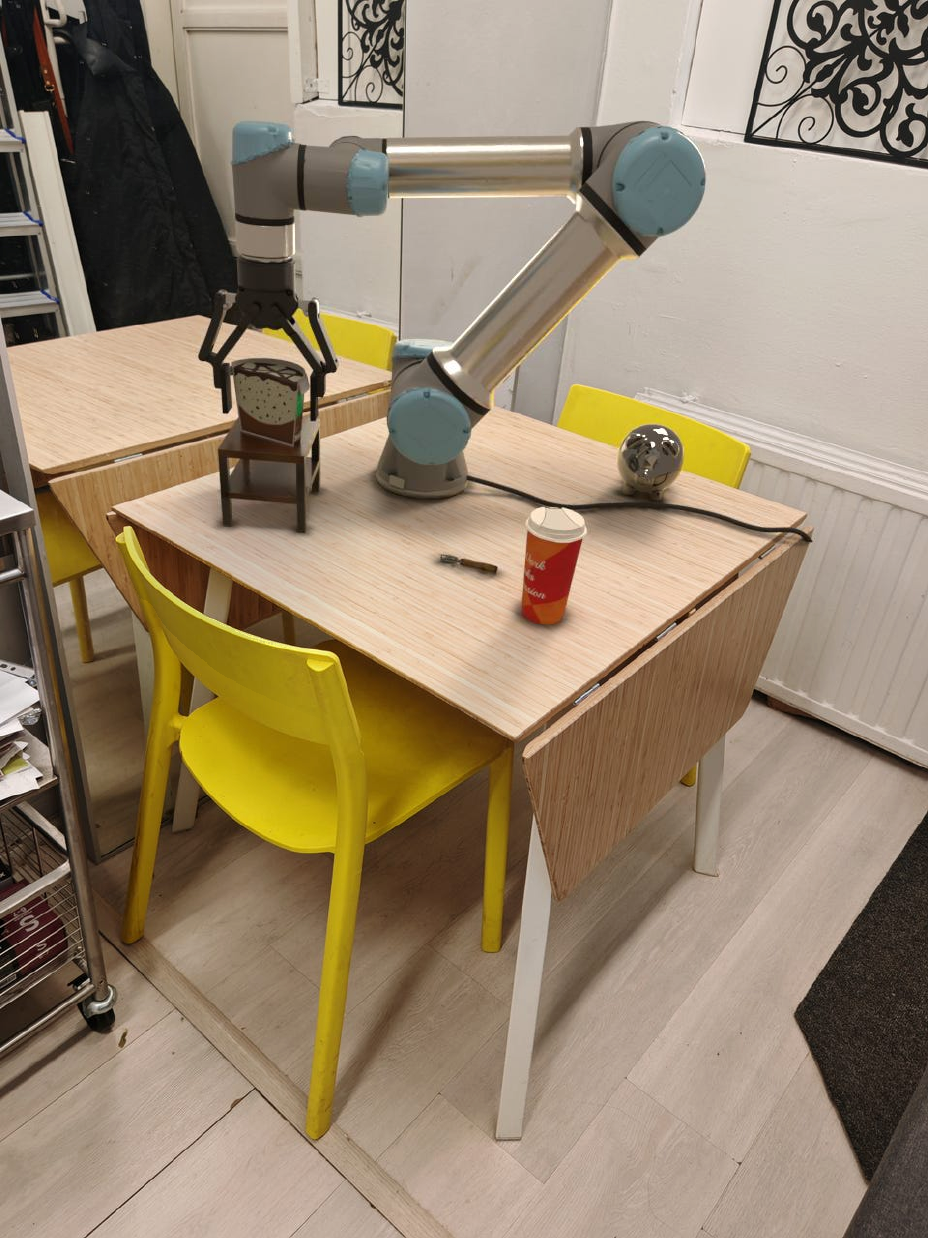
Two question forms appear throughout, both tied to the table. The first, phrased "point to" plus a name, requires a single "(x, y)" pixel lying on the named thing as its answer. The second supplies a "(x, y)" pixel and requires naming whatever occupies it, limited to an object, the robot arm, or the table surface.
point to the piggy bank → (650, 459)
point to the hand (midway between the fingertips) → (271, 414)
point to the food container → (270, 398)
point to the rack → (270, 470)
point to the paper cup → (550, 562)
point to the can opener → (471, 563)
